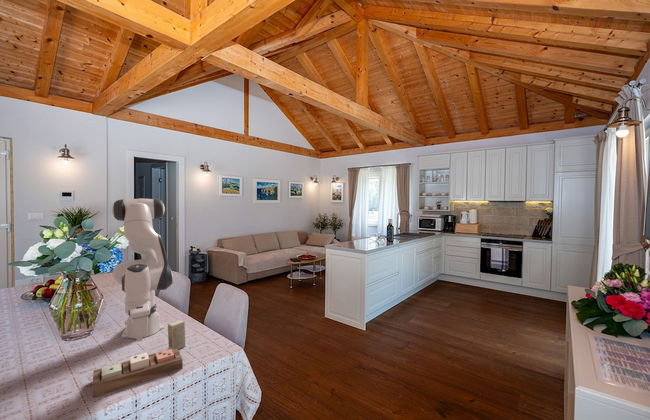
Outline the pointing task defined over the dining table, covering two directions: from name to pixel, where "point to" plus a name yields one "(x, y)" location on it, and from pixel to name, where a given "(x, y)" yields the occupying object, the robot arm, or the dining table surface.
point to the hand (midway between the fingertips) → (139, 340)
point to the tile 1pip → (111, 371)
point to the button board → (135, 374)
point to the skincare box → (176, 334)
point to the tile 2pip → (139, 361)
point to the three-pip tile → (164, 356)
